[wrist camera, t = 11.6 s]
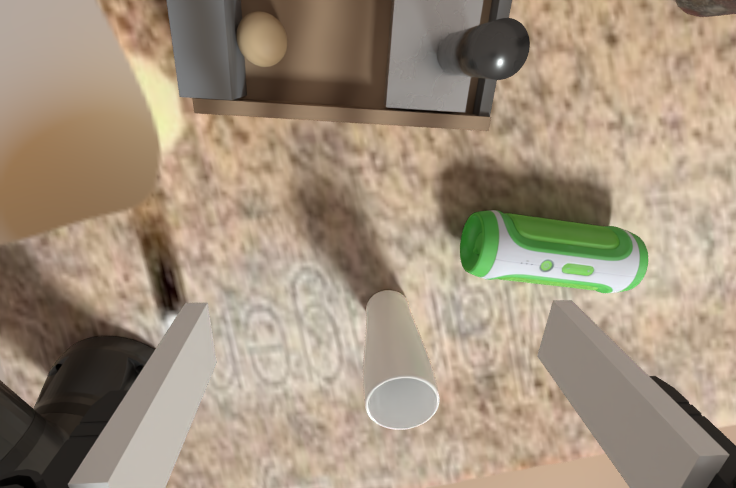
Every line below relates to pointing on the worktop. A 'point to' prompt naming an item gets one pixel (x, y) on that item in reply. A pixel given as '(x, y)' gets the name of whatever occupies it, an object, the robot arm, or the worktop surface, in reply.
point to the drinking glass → (396, 365)
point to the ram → (447, 52)
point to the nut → (261, 39)
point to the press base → (307, 63)
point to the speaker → (552, 252)
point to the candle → (707, 7)
